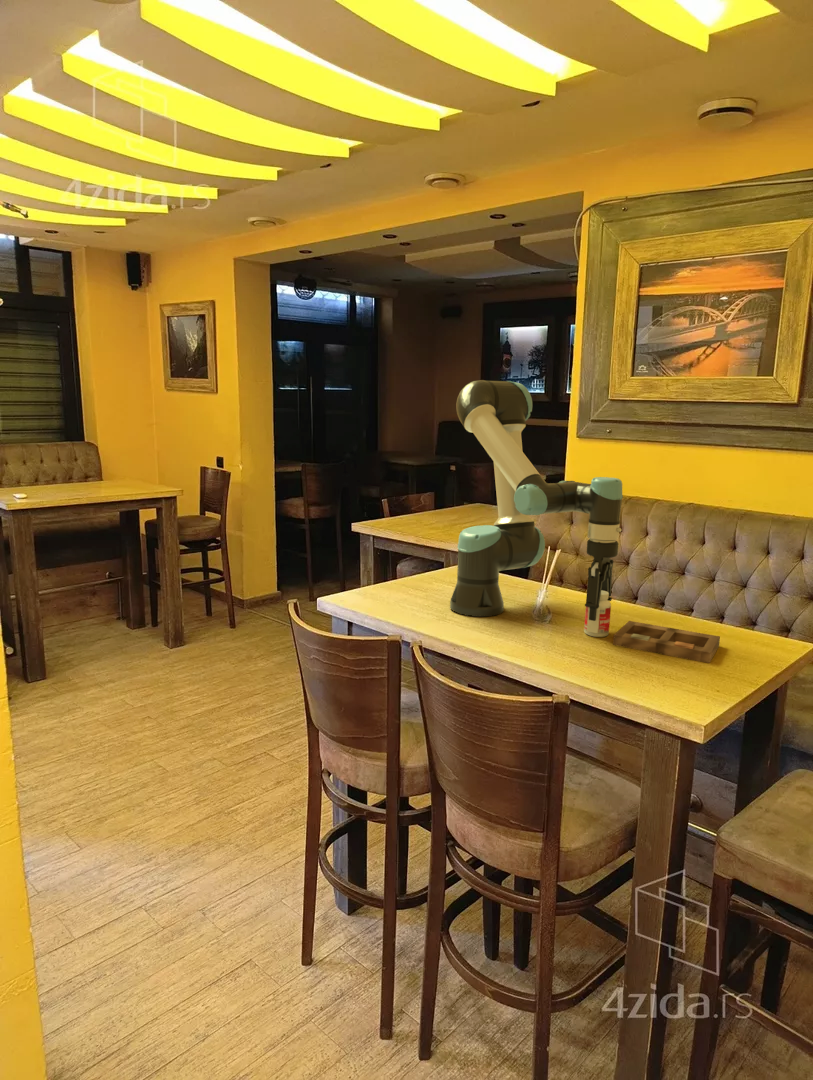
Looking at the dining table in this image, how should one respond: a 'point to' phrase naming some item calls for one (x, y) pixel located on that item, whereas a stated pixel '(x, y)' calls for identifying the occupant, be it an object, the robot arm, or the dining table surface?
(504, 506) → the robot arm
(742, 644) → the dining table surface
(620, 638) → the socket board
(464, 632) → the dining table surface
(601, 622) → the pill bottle
